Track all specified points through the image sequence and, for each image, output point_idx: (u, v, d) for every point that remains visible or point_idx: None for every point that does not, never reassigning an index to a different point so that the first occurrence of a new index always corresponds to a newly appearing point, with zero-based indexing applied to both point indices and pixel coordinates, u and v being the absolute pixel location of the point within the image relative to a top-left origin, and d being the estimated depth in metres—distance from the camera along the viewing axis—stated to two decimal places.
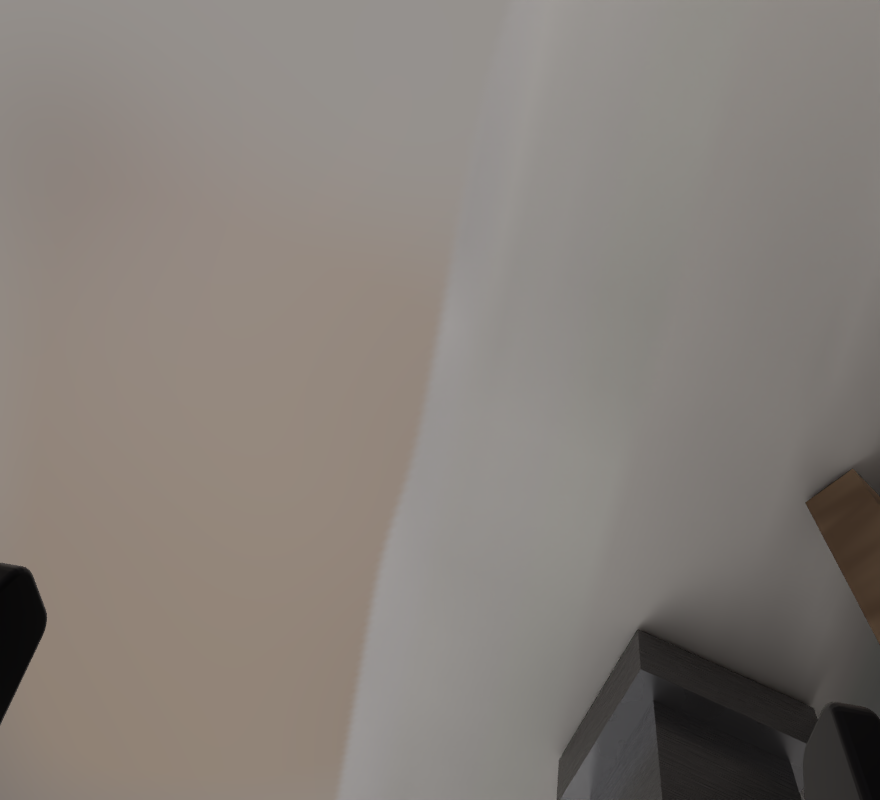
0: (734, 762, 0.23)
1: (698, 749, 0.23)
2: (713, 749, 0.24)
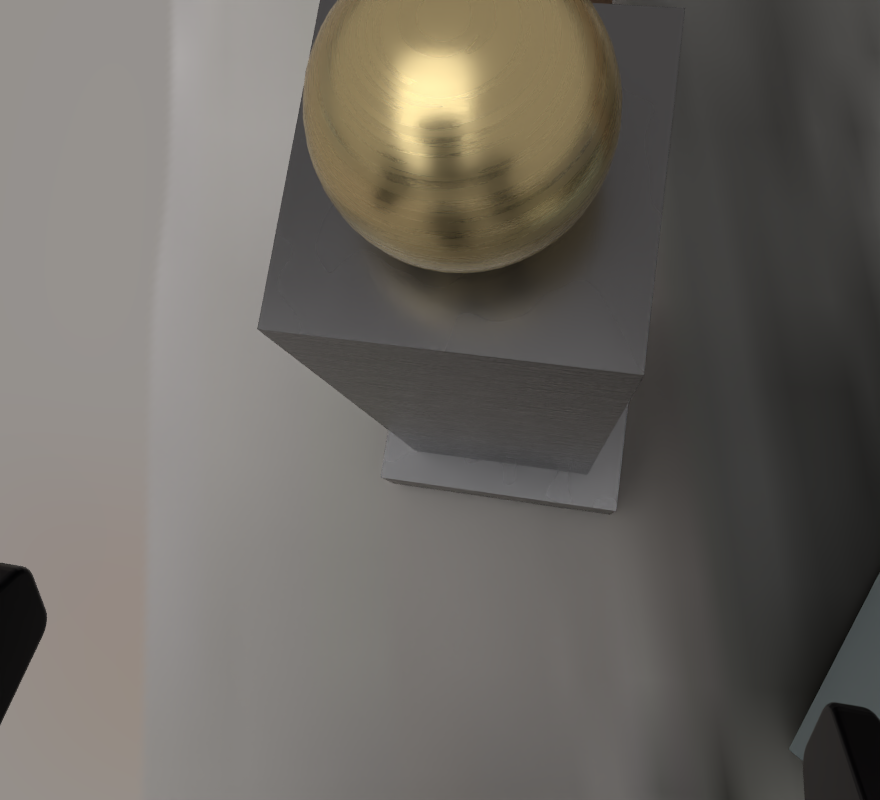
0: None
1: None
2: None
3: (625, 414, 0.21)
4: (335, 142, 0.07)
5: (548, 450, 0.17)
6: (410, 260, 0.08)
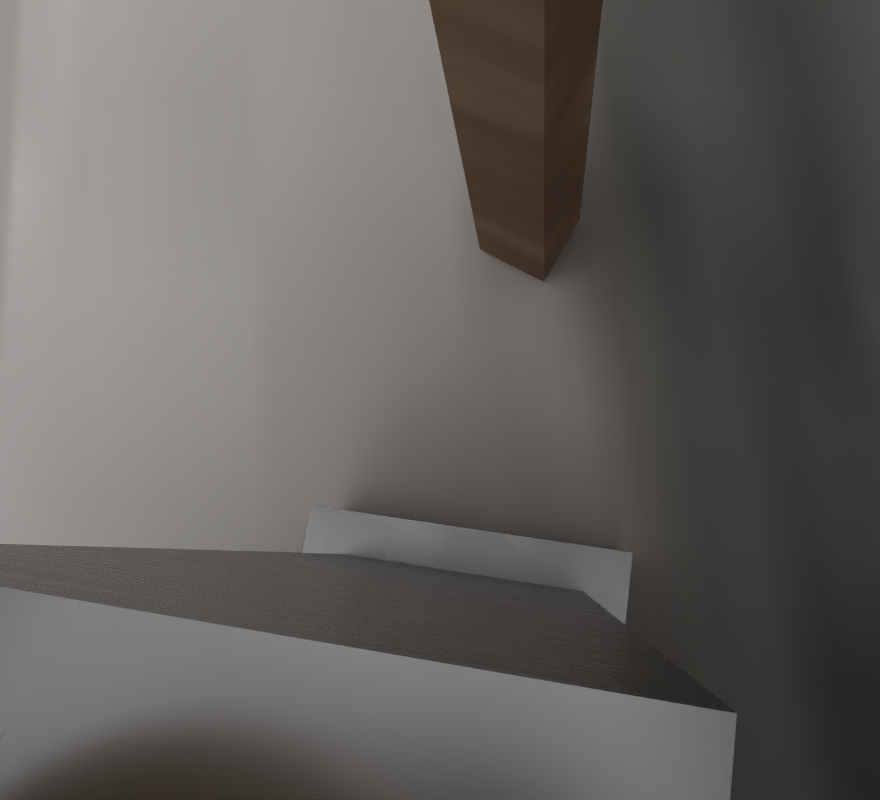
0: (467, 575, 0.14)
1: (400, 565, 0.14)
2: (431, 569, 0.14)
3: None
4: None
5: None
6: None
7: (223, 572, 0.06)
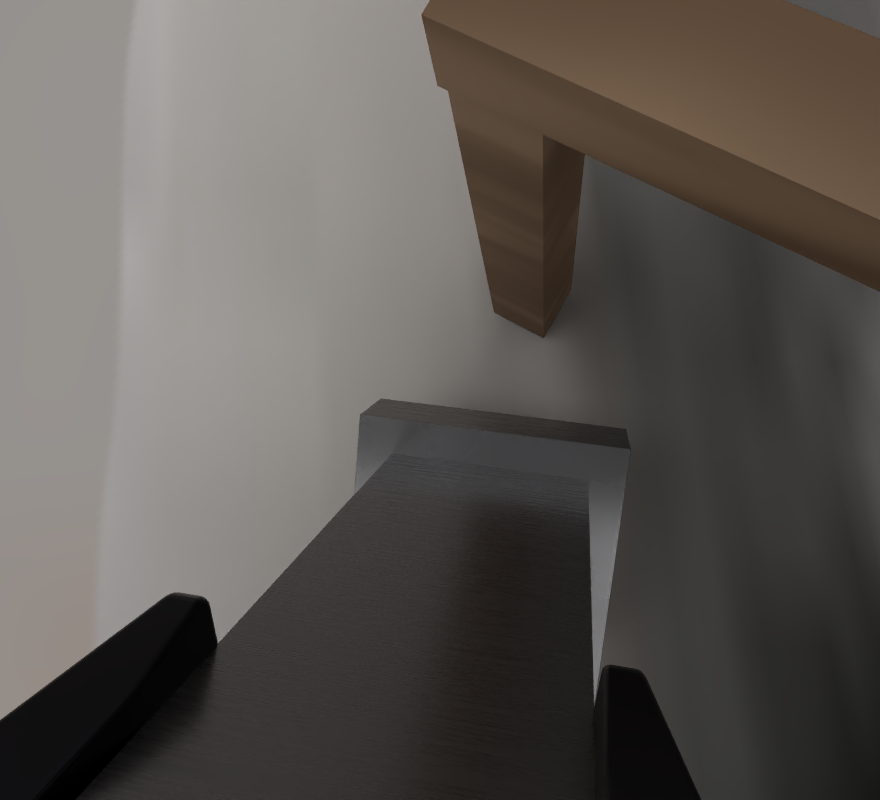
0: (493, 482, 0.17)
1: (438, 477, 0.17)
2: (464, 476, 0.17)
3: (606, 603, 0.18)
4: None
5: None
6: None
7: (324, 666, 0.09)
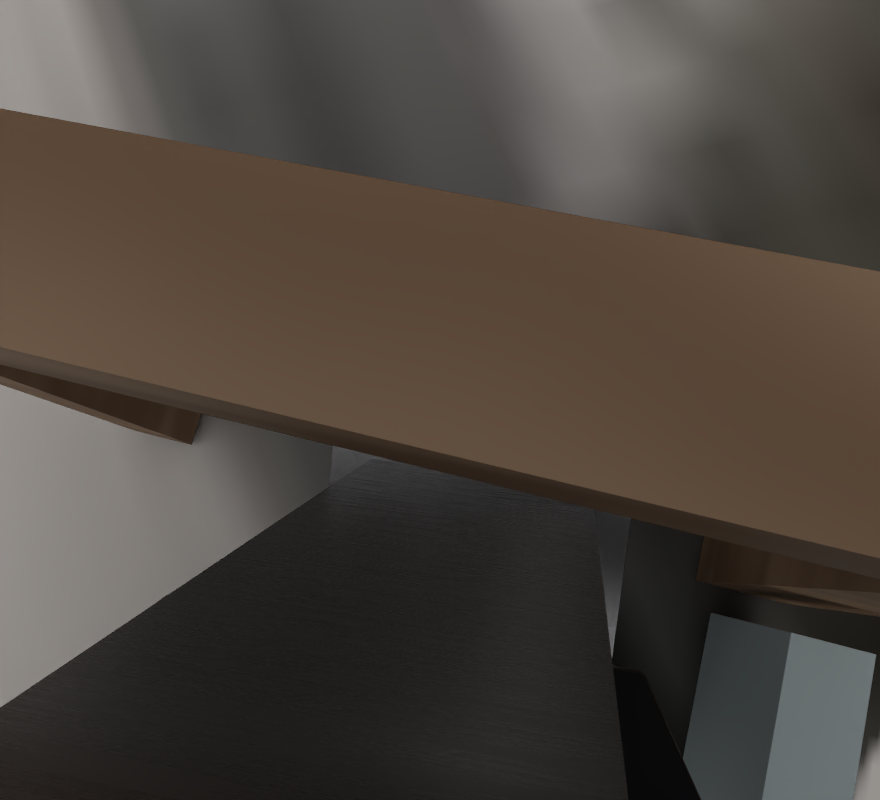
0: (484, 487, 0.15)
1: (422, 480, 0.15)
2: (451, 480, 0.15)
3: (613, 633, 0.16)
4: None
5: None
6: None
7: (263, 650, 0.07)
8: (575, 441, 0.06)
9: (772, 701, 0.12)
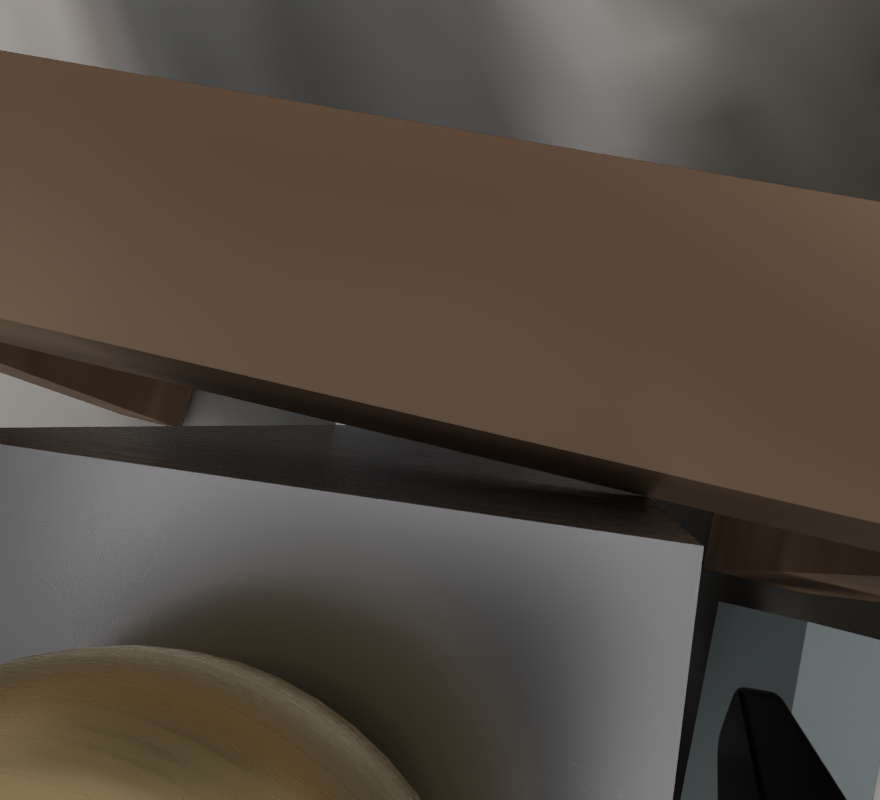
0: None
1: None
2: None
3: None
4: None
5: None
6: None
7: (284, 446, 0.07)
8: (580, 404, 0.05)
9: (786, 694, 0.12)
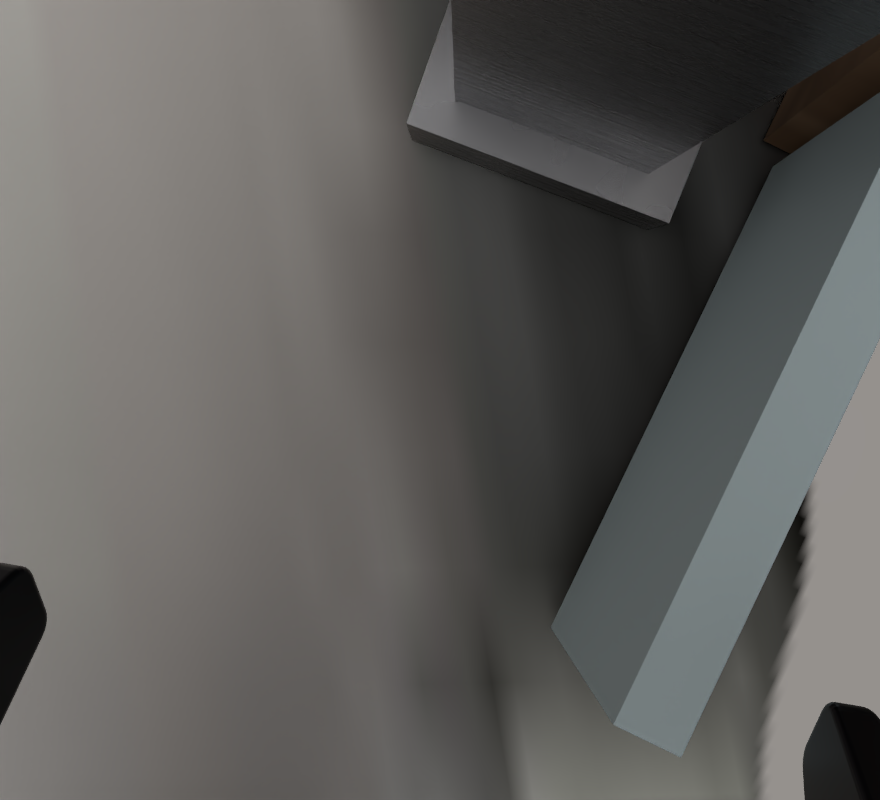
0: None
1: None
2: None
3: None
4: None
5: (646, 119, 0.14)
6: None
7: None
8: None
9: None
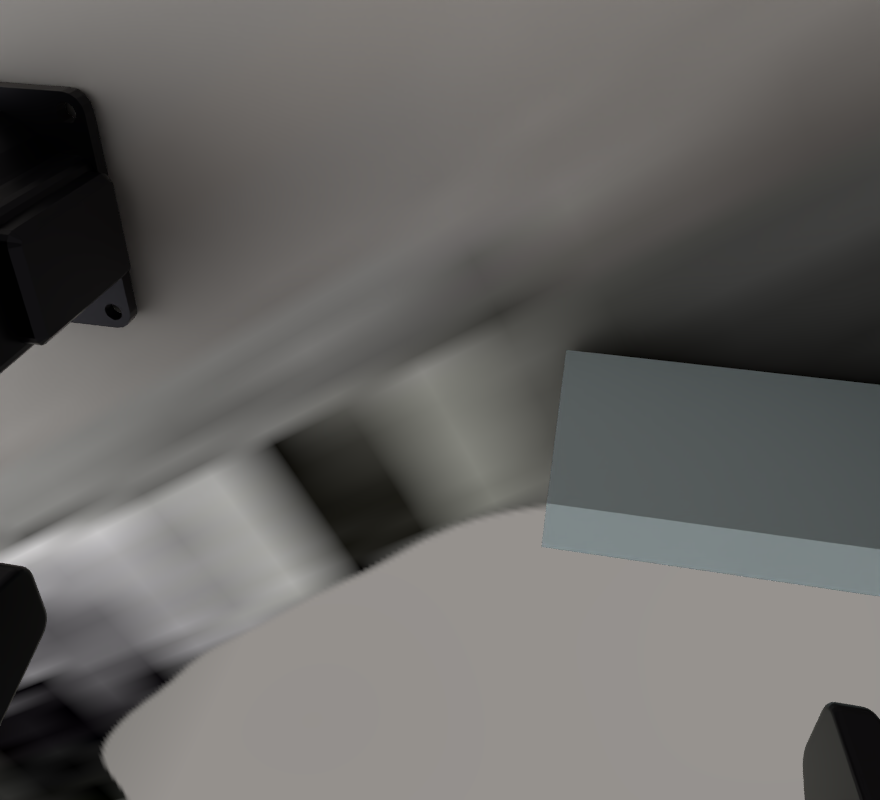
0: None
1: None
2: None
3: None
4: None
5: None
6: None
7: None
8: None
9: None
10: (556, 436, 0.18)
